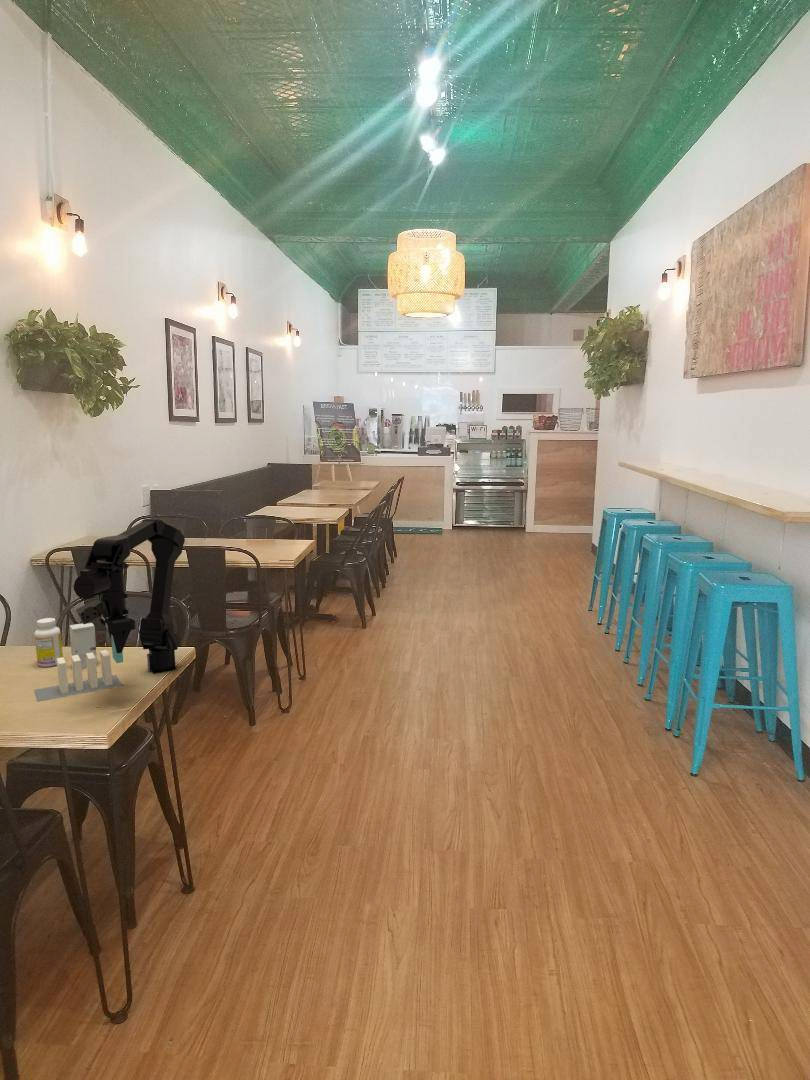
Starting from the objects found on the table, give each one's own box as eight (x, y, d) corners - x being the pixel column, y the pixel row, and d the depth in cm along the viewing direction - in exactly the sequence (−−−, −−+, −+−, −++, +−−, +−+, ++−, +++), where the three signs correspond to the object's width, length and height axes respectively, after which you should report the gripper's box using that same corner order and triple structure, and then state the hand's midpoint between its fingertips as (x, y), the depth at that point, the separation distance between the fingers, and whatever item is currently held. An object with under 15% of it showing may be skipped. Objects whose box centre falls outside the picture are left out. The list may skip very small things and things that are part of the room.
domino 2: (80, 683, 189) (77, 654, 187) (83, 690, 184) (80, 660, 183) (73, 685, 188) (71, 655, 186) (76, 691, 184) (74, 661, 182)
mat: (116, 676, 195) (116, 674, 195) (122, 686, 188) (122, 685, 187) (33, 691, 185) (33, 689, 185) (37, 703, 177) (37, 701, 177)
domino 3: (94, 681, 190) (92, 652, 189) (98, 687, 186) (95, 657, 185) (88, 682, 190) (85, 653, 188) (91, 688, 185) (88, 658, 184)
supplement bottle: (54, 658, 209) (50, 615, 207) (68, 662, 206) (64, 618, 204) (32, 665, 204) (28, 621, 201) (46, 669, 200) (42, 624, 198)
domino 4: (108, 678, 192) (106, 650, 191) (112, 684, 188) (110, 655, 187) (102, 679, 191) (100, 651, 190) (105, 685, 187) (103, 656, 186)
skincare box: (74, 671, 199) (70, 629, 197) (71, 666, 203) (68, 625, 200) (98, 666, 202) (95, 625, 200) (95, 662, 206) (91, 621, 204)
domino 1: (65, 686, 187) (63, 657, 185) (68, 692, 183) (65, 662, 181) (59, 687, 186) (56, 658, 184) (61, 694, 182) (58, 664, 180)
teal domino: (119, 656, 183) (117, 625, 182) (123, 662, 179) (121, 631, 177) (112, 657, 182) (110, 626, 181) (116, 663, 178) (114, 632, 176)
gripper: (71, 585, 181) (76, 645, 184) (83, 602, 165) (88, 667, 168) (118, 580, 187) (122, 638, 189) (133, 595, 171) (138, 658, 174)
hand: (117, 649), depth 180 cm, fingers closed on teal domino, 5 cm apart
